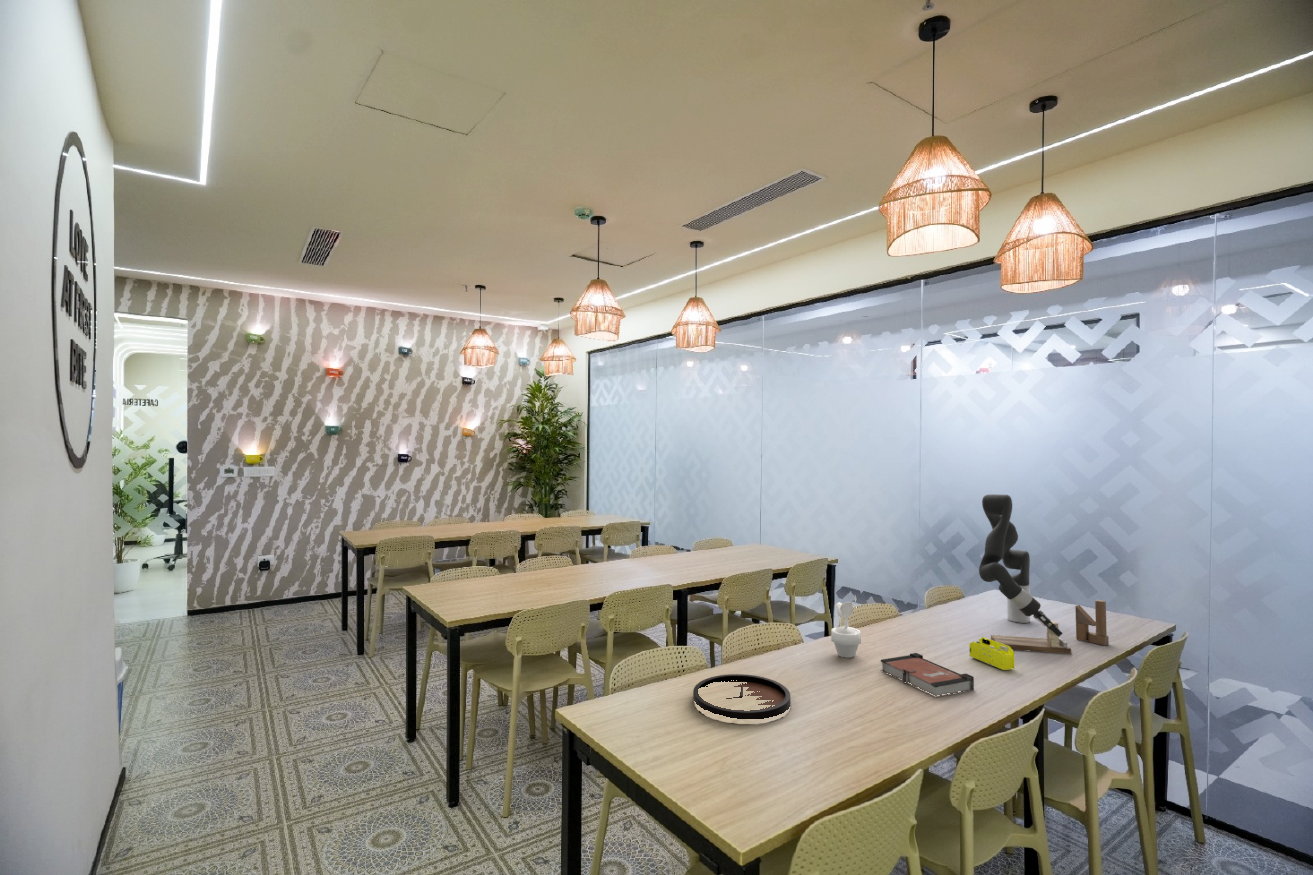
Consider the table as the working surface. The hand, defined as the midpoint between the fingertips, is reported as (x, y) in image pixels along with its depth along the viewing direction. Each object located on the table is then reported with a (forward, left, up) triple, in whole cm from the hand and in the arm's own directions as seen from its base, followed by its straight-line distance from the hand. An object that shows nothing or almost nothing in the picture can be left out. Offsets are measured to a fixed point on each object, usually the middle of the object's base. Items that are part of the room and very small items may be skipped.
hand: (1056, 631), depth 246 cm
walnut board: (-2, -9, -7) cm, 12 cm away
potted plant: (+27, -82, -7) cm, 87 cm away
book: (+47, -56, -8) cm, 74 cm away
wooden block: (-15, +18, -7) cm, 24 cm away
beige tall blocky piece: (0, -1, -5) cm, 5 cm away
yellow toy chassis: (+24, -29, -8) cm, 39 cm away
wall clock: (+83, -116, -8) cm, 143 cm away
